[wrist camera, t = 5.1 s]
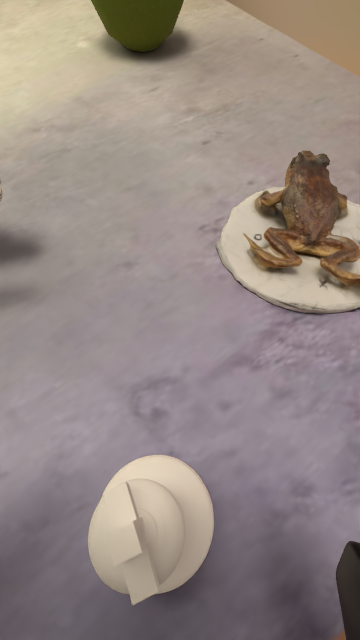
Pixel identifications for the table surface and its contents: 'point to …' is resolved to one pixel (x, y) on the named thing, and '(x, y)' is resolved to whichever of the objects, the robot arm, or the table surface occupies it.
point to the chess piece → (151, 527)
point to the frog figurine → (297, 242)
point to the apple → (139, 21)
